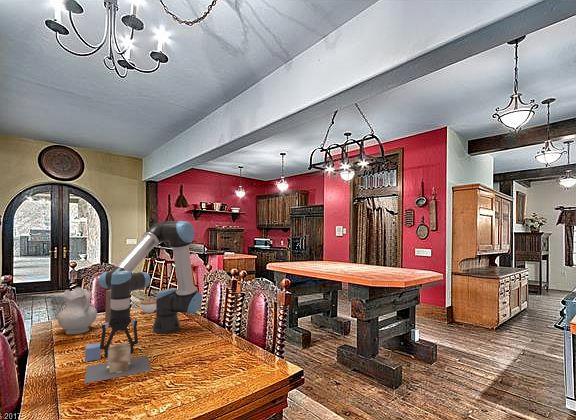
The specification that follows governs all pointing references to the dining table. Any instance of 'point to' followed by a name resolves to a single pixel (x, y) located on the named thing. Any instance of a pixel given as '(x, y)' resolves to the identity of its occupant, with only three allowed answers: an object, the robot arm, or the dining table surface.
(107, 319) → the wooden block
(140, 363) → the board
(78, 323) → the ceramic pitcher
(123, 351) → the maple block
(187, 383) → the dining table surface
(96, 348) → the blue cube
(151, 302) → the lidded jar
